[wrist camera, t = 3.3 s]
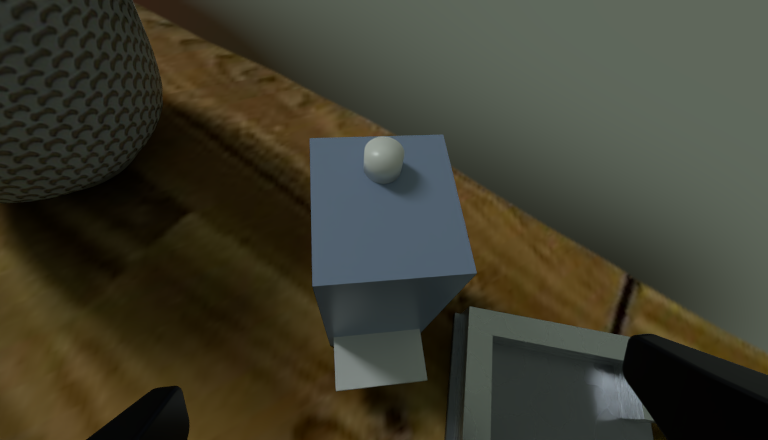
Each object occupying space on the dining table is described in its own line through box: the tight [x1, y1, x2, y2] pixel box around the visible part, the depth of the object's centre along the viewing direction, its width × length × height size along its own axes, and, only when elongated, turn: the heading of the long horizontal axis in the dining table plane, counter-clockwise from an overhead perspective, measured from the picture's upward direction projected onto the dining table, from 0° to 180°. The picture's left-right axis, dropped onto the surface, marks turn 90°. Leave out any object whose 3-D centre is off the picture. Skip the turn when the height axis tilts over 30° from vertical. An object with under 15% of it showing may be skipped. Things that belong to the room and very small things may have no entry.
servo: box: [310, 135, 477, 391], centre depth 15 cm, size 9×4×11 cm, turn 6°
